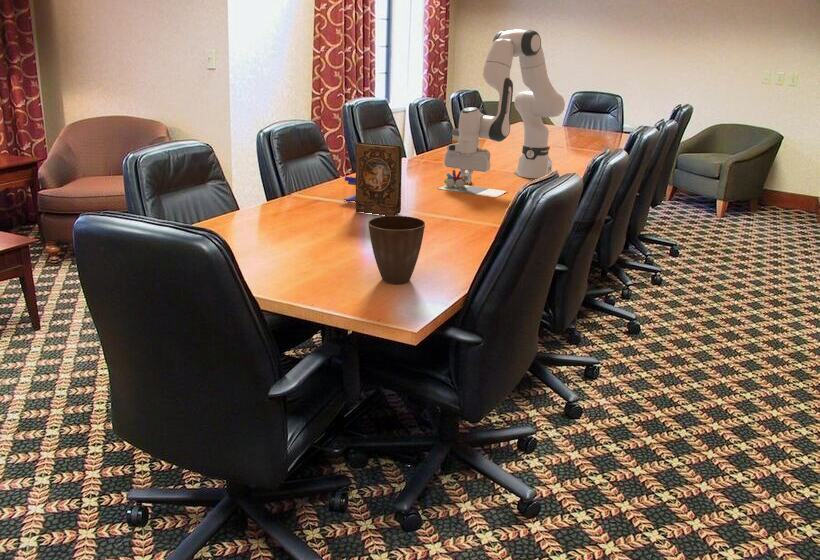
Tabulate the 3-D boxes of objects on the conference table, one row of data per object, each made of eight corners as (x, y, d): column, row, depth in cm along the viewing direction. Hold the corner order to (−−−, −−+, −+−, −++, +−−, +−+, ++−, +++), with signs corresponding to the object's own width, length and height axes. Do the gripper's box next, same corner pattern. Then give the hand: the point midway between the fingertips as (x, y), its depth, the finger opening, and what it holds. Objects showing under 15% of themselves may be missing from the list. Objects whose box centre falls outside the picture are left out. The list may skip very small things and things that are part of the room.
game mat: (452, 183, 309) (452, 183, 309) (508, 191, 296) (508, 191, 296) (437, 189, 298) (437, 188, 297) (495, 197, 285) (495, 197, 285)
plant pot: (358, 284, 183) (358, 225, 178) (380, 267, 197) (381, 212, 191) (411, 292, 178) (413, 232, 173) (430, 275, 192) (432, 219, 186)
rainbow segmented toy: (465, 189, 297) (466, 172, 295) (443, 188, 298) (443, 171, 296) (466, 185, 305) (467, 169, 303) (444, 184, 306) (445, 167, 304)
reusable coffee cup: (447, 156, 378) (448, 128, 373) (468, 155, 382) (470, 127, 377) (455, 160, 367) (457, 131, 362) (477, 159, 370) (479, 130, 365)
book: (353, 212, 255) (353, 144, 246) (359, 209, 260) (359, 142, 251) (395, 217, 250) (397, 147, 241) (400, 214, 255) (402, 145, 246)
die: (460, 181, 315) (460, 170, 313) (471, 181, 314) (471, 170, 313) (458, 183, 310) (459, 172, 309) (469, 184, 310) (470, 172, 308)
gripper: (493, 149, 290) (491, 181, 295) (450, 144, 300) (448, 175, 304) (487, 150, 285) (485, 184, 289) (443, 145, 295) (442, 178, 299)
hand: (466, 179), depth 297 cm, fingers closed
